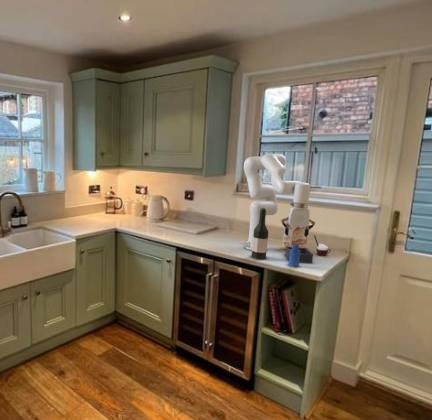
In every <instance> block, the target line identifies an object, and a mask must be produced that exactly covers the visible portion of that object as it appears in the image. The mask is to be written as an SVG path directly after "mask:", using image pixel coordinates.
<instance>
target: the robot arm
mask: <svg viewBox="0 0 432 420" xmlns="http://www.w3.org/2000/svg"><path fill="white" fill-rule="evenodd" d="M286 162H287V158H286V156H285V155H284V154H282V153H266V154H264V155H262V156H259V155H258V156H257V155H256V156H249V157H247V158H245V160H244V162H243V171H244V175H245V177H246V181H247V187H248V192H249V196H250V198H251V199H252V200H253V199H254V201H252V202H251V203H250V205H249V228H248V229H249V230H248V231H249V232H248V239H247V240H246V241H243V240H241V241H240V245H243V246H244V248H245V249H247V250H249V251H252V246H253V235H254V229H255V228H256V226H257V225H258V224H259V217H260V209H261V208H265V210H266V216H273V215H276V214H277V213H278V210H279V205H278V200H277V199H278V198H277V195H276V192H277V193H278V194H280V195H293V198H292V202H289V206H290V208H289V211H288V215H287V216H286V217H285V218H282V219H280V222H281V225H282V226H283V227H285V234H286V235H287V236H288V232H289V229H288V227H290V226H299V227H306V229H305V233H304V236H305V237H307V238H308V236H309V233H310V230H311V229H312V228H314V227H315V225H316V221H314V220H312V219H311V218H310V217H311V216H310V215H311V214H310V212H311V211H310V208H309V202H310V194H311V183H308V182H303V181H299V180H284V179H282V178H281V177H283V176H284V175H285V173H286V171H287V169H286ZM258 171H267V173H269V175H270V183H271V184H269V183H266V184H265V183H263V181H262V180H263V179H262V177H261V175H260V173H259V172H258ZM287 220H288V221H287ZM285 221H287V224H285ZM265 225H266V226H267V222H266V220H265ZM307 235H308V236H307Z"/></svg>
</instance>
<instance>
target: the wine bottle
mask: <svg viewBox="0 0 432 420" xmlns="http://www.w3.org/2000/svg"><path fill="white" fill-rule="evenodd" d="M266 216H267V215H266V210H265V208H261V209H260V217H259V224H258V225H257V226H256V228H255V229H254V235H253V246H252V250H251V258H252V259H254V260H260V261H261V260H266V259H267V249H268V240H269V230H268V228H267V224H266V225H265V221H266V218H267V217H266Z"/></svg>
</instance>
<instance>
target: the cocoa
mask: <svg viewBox="0 0 432 420" xmlns="http://www.w3.org/2000/svg"><path fill="white" fill-rule="evenodd" d="M313 237H314V241H315V243H316V248H315V249H316V253H317V255H319V256H326V255H328V254H330V253H331V250H330V249H329V247H328V246H327V245H325V244H324V243H318V240H317V237H316V234H315V235H313Z"/></svg>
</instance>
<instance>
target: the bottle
mask: <svg viewBox="0 0 432 420" xmlns="http://www.w3.org/2000/svg"><path fill="white" fill-rule="evenodd" d="M299 259H300V250H299V245H297V244H293V247H292V249H290V256H289V259H288V267H289V266H290V267H292V268H299V266H300V262H299Z"/></svg>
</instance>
